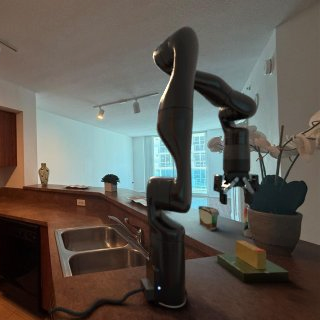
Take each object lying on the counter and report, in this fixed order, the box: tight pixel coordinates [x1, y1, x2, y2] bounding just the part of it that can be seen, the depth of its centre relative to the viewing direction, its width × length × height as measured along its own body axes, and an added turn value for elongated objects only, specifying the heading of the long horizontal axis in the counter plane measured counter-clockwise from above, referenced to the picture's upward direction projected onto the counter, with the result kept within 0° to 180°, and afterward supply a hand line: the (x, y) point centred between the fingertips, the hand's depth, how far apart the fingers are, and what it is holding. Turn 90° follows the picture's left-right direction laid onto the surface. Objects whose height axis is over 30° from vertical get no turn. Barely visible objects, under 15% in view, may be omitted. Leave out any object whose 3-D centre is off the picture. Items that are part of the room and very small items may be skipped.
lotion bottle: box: [243, 202, 252, 239], centre depth 91 cm, size 6×6×20 cm
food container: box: [198, 205, 220, 232], centre depth 103 cm, size 12×6×10 cm, turn 179°
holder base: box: [216, 252, 290, 284], centre depth 64 cm, size 14×12×3 cm
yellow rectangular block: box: [235, 240, 267, 269], centre depth 64 cm, size 8×3×6 cm, turn 2°
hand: (235, 204), depth 68 cm, fingers open, 8 cm apart
